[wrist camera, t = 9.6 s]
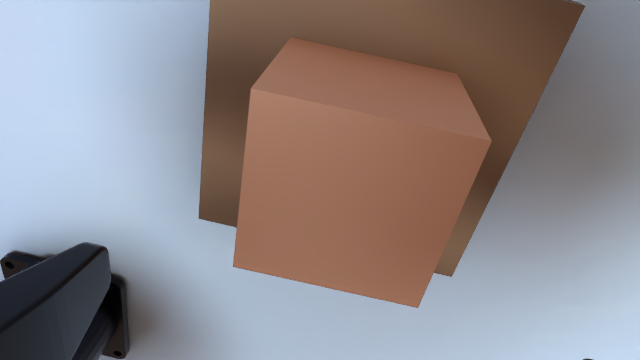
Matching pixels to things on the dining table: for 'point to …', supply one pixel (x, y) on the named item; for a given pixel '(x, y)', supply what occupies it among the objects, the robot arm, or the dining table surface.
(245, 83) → the walnut plate
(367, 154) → the terracotta block
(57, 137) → the dining table surface
